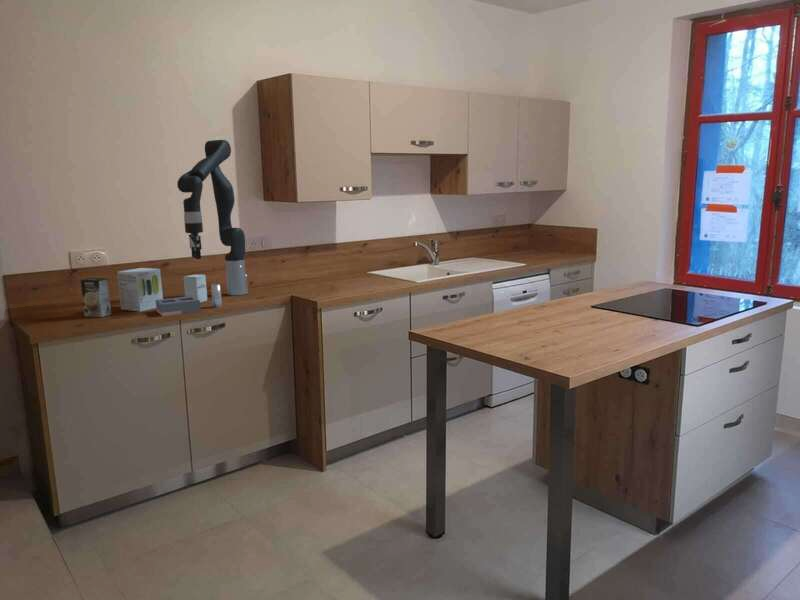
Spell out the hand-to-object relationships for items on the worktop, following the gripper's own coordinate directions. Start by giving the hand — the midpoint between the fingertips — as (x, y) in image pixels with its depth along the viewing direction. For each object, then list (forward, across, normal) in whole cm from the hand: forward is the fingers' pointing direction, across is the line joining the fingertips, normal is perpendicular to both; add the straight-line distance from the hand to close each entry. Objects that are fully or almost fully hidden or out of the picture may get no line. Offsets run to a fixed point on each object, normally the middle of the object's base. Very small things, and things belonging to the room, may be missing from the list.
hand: (196, 258), depth 284 cm
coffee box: (+22, +6, +42) cm, 48 cm away
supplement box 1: (+22, +12, +23) cm, 34 cm away
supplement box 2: (+22, +13, -1) cm, 26 cm away
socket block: (+22, -6, +11) cm, 25 cm away
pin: (+22, -6, -6) cm, 24 cm away
